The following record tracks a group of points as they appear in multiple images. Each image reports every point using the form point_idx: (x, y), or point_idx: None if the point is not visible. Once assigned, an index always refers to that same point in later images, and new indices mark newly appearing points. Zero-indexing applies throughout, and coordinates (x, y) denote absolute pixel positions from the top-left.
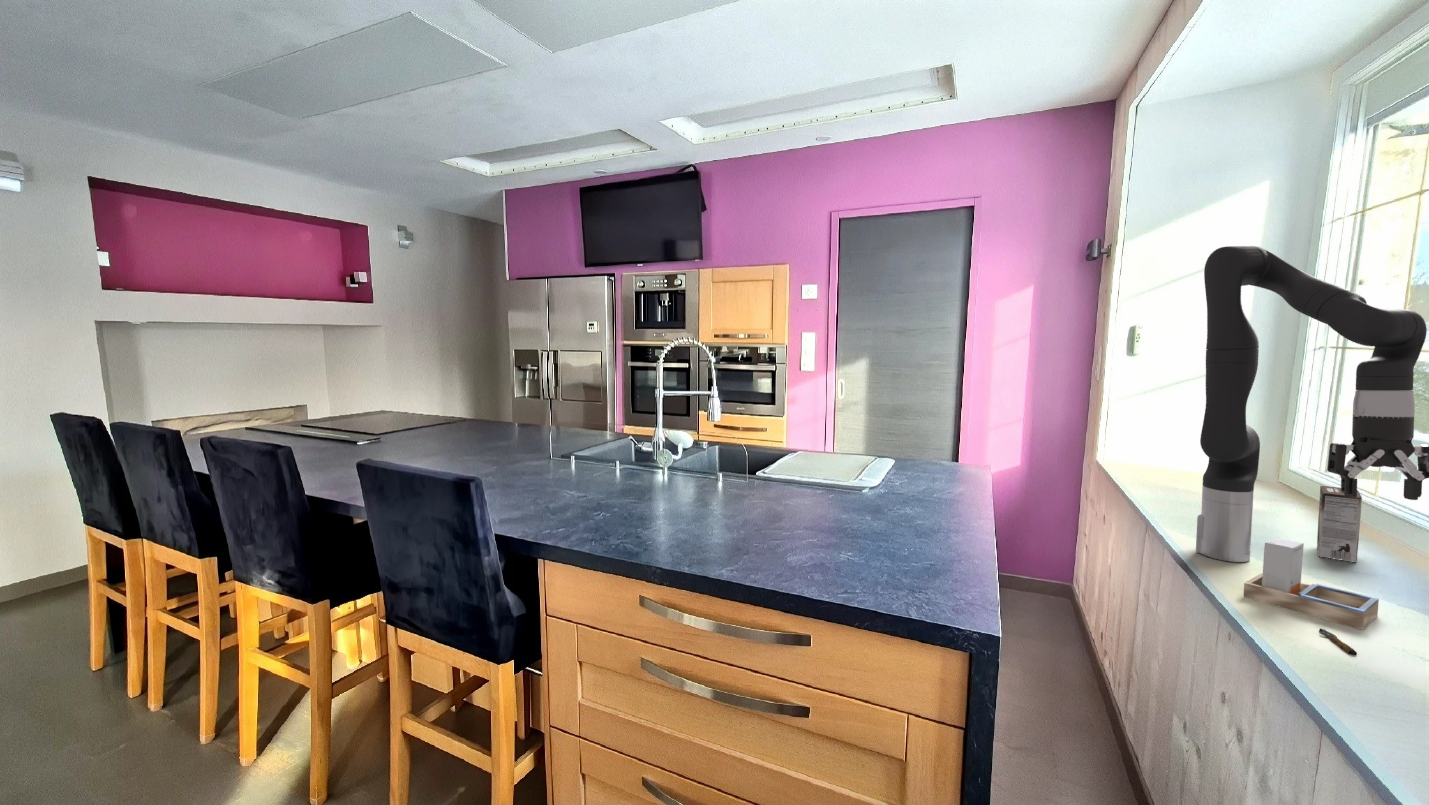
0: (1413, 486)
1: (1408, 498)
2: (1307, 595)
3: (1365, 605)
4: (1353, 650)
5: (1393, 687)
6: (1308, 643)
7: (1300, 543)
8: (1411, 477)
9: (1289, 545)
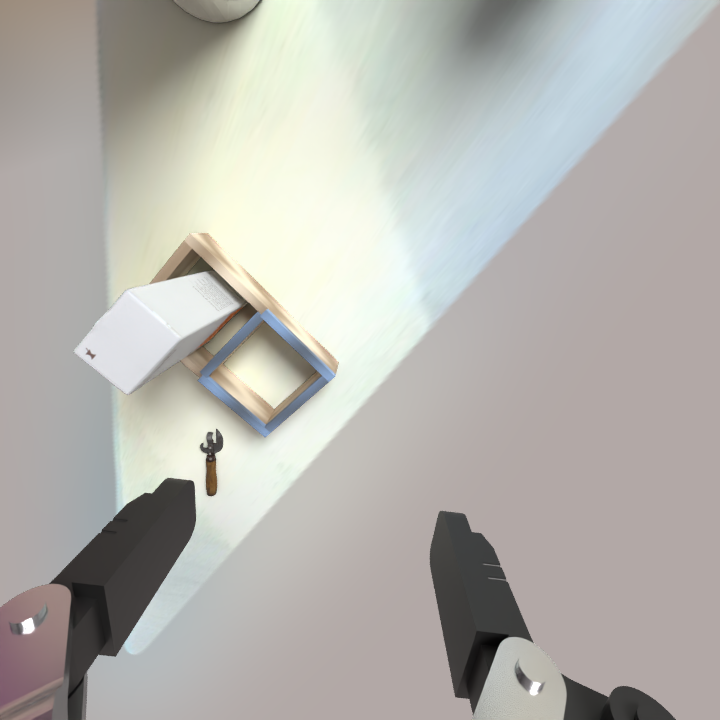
0: (445, 645)
1: (436, 535)
2: (209, 381)
3: (286, 412)
4: (210, 495)
5: (211, 549)
6: (173, 470)
7: (169, 346)
8: (475, 707)
9: (128, 372)
